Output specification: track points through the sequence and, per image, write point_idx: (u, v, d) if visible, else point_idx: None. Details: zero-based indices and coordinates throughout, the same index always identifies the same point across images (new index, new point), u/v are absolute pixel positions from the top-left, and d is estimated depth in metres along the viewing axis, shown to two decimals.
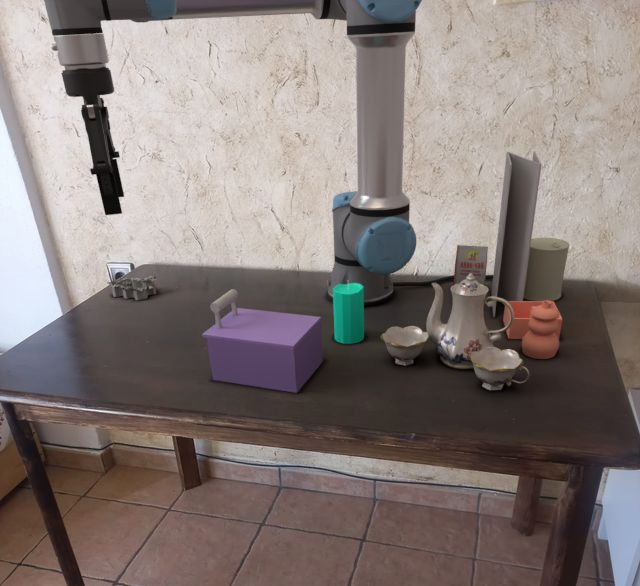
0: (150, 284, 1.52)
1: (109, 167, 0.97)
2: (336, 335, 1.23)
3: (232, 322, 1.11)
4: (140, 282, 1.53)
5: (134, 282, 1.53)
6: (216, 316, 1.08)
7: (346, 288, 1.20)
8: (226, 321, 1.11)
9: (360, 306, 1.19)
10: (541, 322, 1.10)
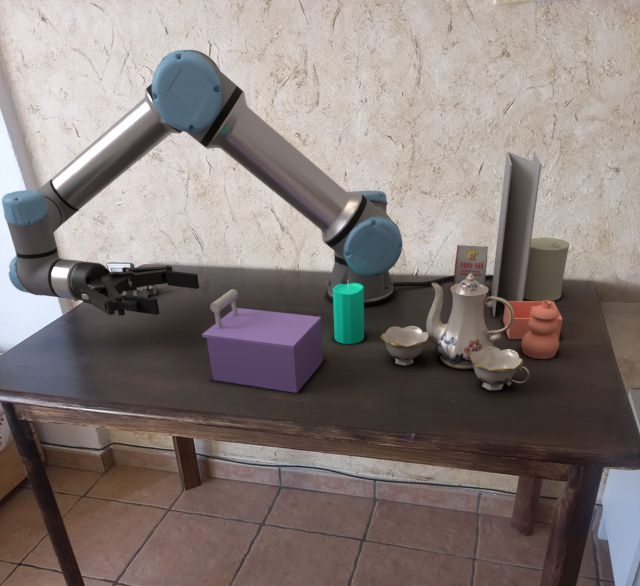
0: None
1: (107, 301, 1.06)
2: (336, 335, 1.23)
3: (232, 322, 1.11)
4: None
5: None
6: (216, 316, 1.08)
7: (346, 288, 1.20)
8: (226, 321, 1.11)
9: (360, 306, 1.19)
10: (541, 322, 1.10)
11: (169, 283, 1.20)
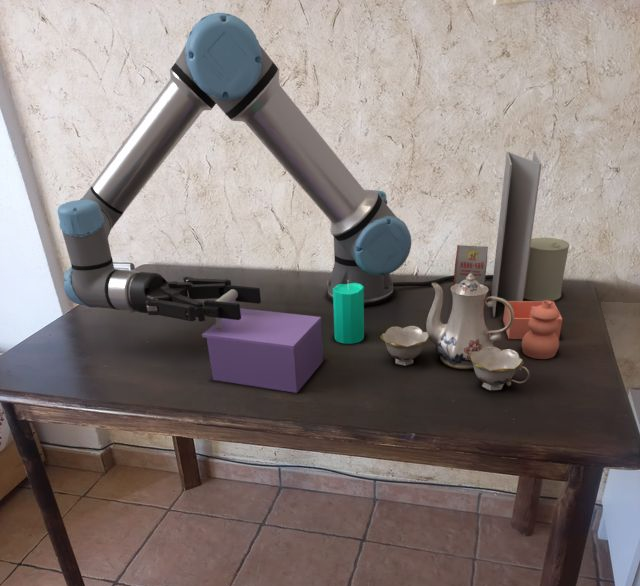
0: None
1: (190, 307, 1.04)
2: (336, 335, 1.23)
3: (232, 322, 1.11)
4: None
5: None
6: None
7: (346, 288, 1.20)
8: (226, 321, 1.11)
9: (360, 306, 1.19)
10: (541, 322, 1.10)
11: None
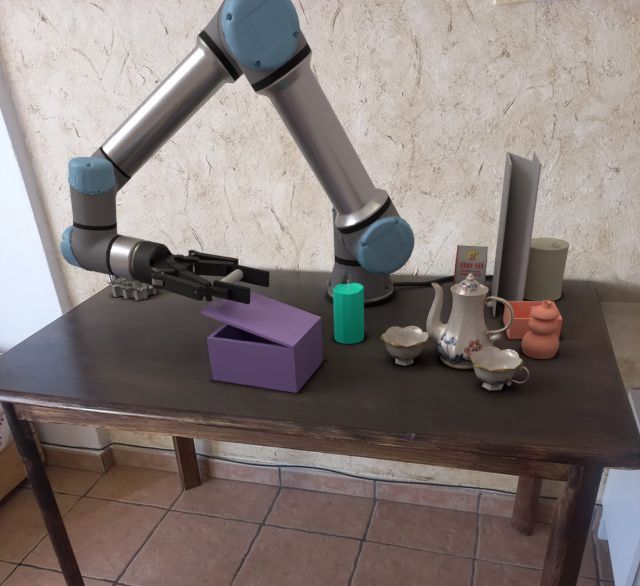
0: None
1: (199, 287, 1.01)
2: (336, 335, 1.23)
3: (232, 303, 1.09)
4: (140, 282, 1.53)
5: (134, 282, 1.53)
6: None
7: (346, 288, 1.20)
8: (226, 300, 1.09)
9: (360, 306, 1.19)
10: (541, 322, 1.10)
11: None
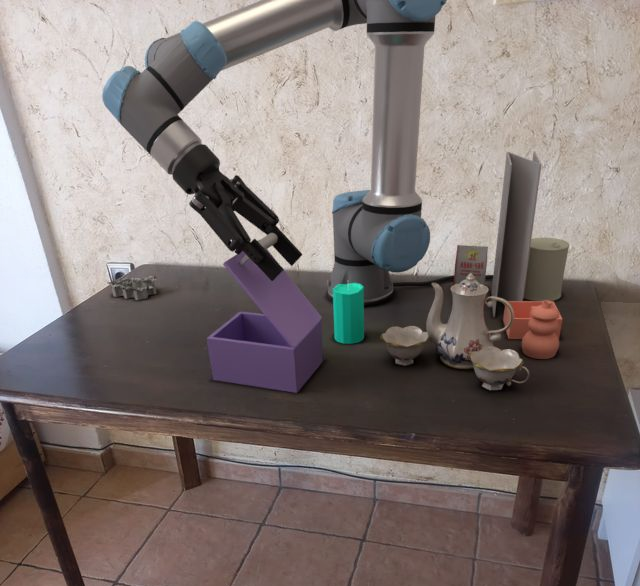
0: (150, 284, 1.52)
1: (239, 240, 0.94)
2: (336, 335, 1.23)
3: (253, 264, 1.03)
4: (140, 282, 1.53)
5: (134, 282, 1.53)
6: None
7: (346, 288, 1.20)
8: None
9: (360, 306, 1.19)
10: (541, 322, 1.10)
11: None
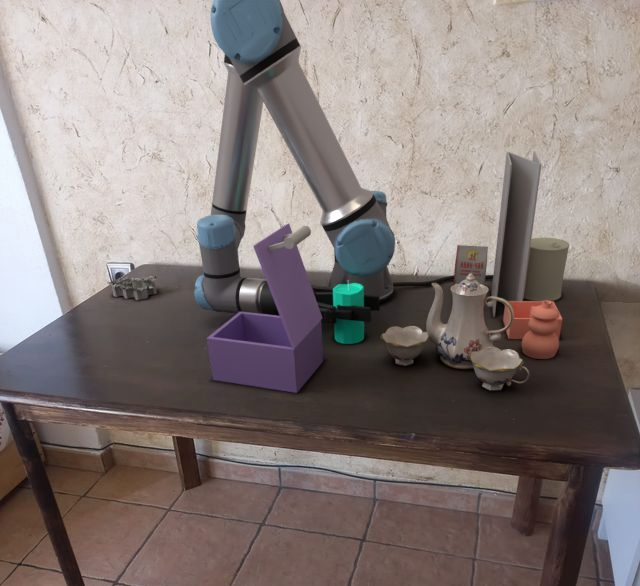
0: (150, 284, 1.52)
1: (326, 311, 1.16)
2: (336, 335, 1.23)
3: (278, 250, 1.00)
4: (140, 282, 1.53)
5: (134, 282, 1.53)
6: (280, 245, 0.96)
7: (346, 288, 1.20)
8: (276, 242, 0.99)
9: None
10: (541, 322, 1.10)
11: None
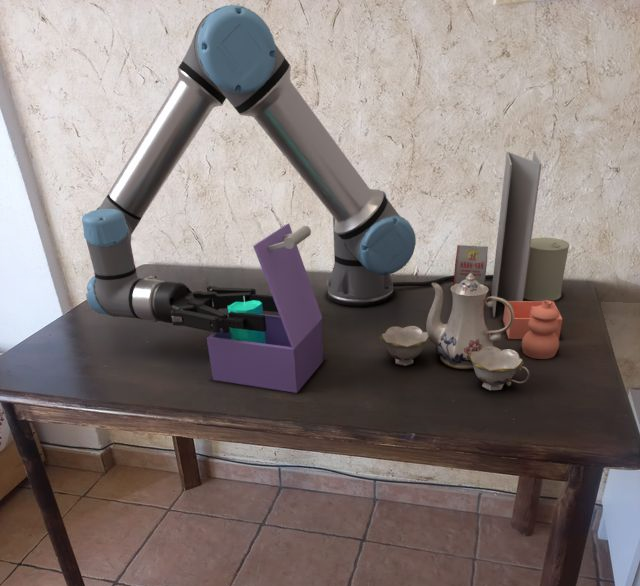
0: None
1: (214, 319, 1.03)
2: None
3: (278, 250, 1.00)
4: None
5: None
6: (280, 245, 0.96)
7: (243, 305, 1.08)
8: (276, 242, 0.99)
9: None
10: (541, 322, 1.10)
11: None
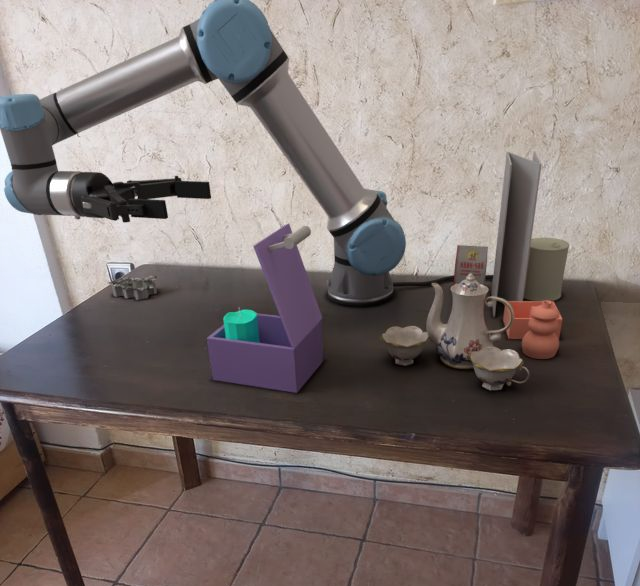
0: (150, 284, 1.52)
1: (110, 204, 0.96)
2: None
3: (278, 250, 1.00)
4: (140, 282, 1.53)
5: (134, 282, 1.53)
6: (280, 245, 0.96)
7: (237, 316, 1.08)
8: (276, 242, 0.99)
9: (256, 334, 1.08)
10: (541, 322, 1.10)
11: (178, 195, 1.09)
